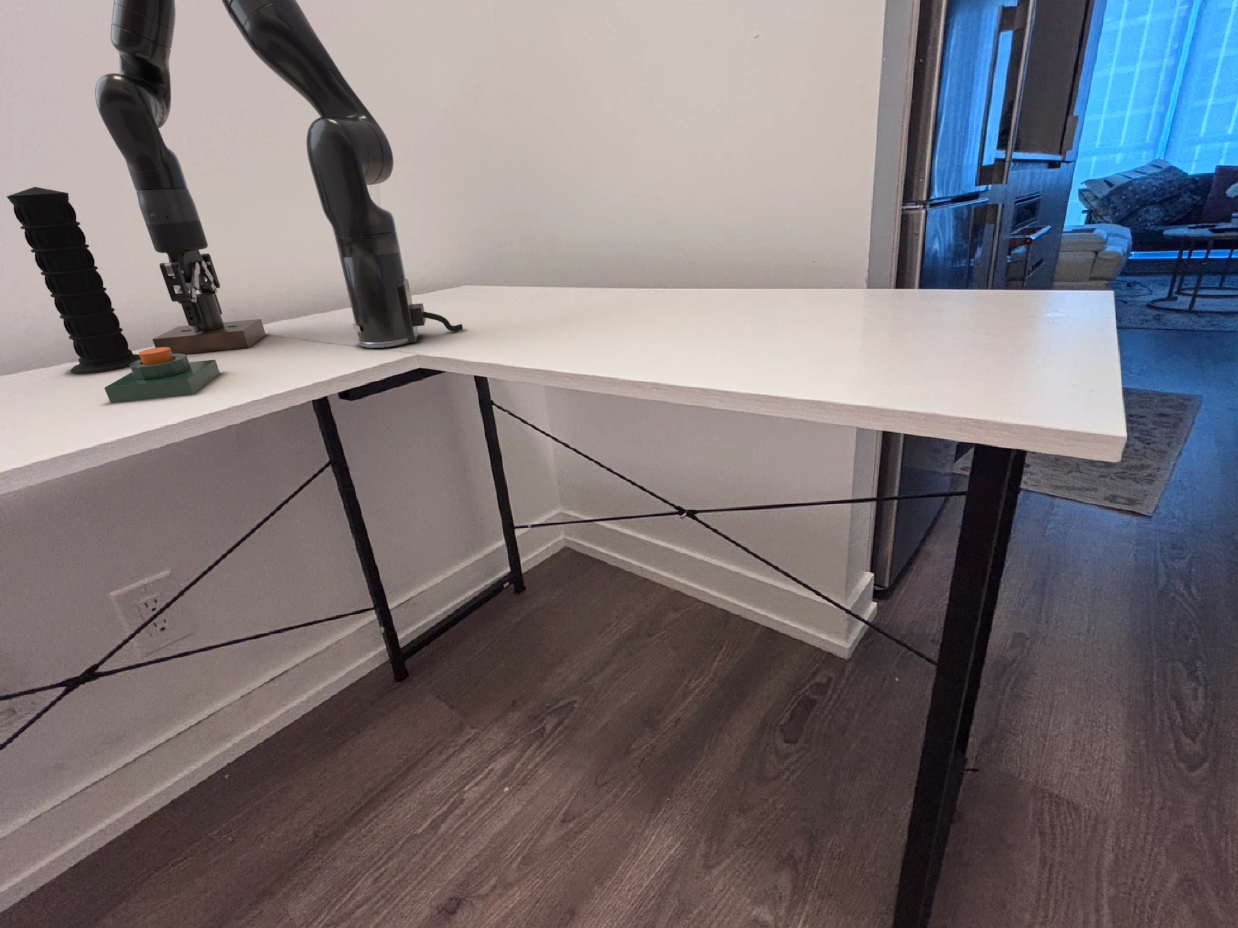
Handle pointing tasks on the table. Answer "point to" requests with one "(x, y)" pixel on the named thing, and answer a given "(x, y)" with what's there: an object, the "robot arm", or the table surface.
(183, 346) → the panel
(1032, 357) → the table surface
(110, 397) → the button box
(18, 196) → the handle grip
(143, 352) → the button
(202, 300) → the dial
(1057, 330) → the table surface
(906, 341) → the table surface
